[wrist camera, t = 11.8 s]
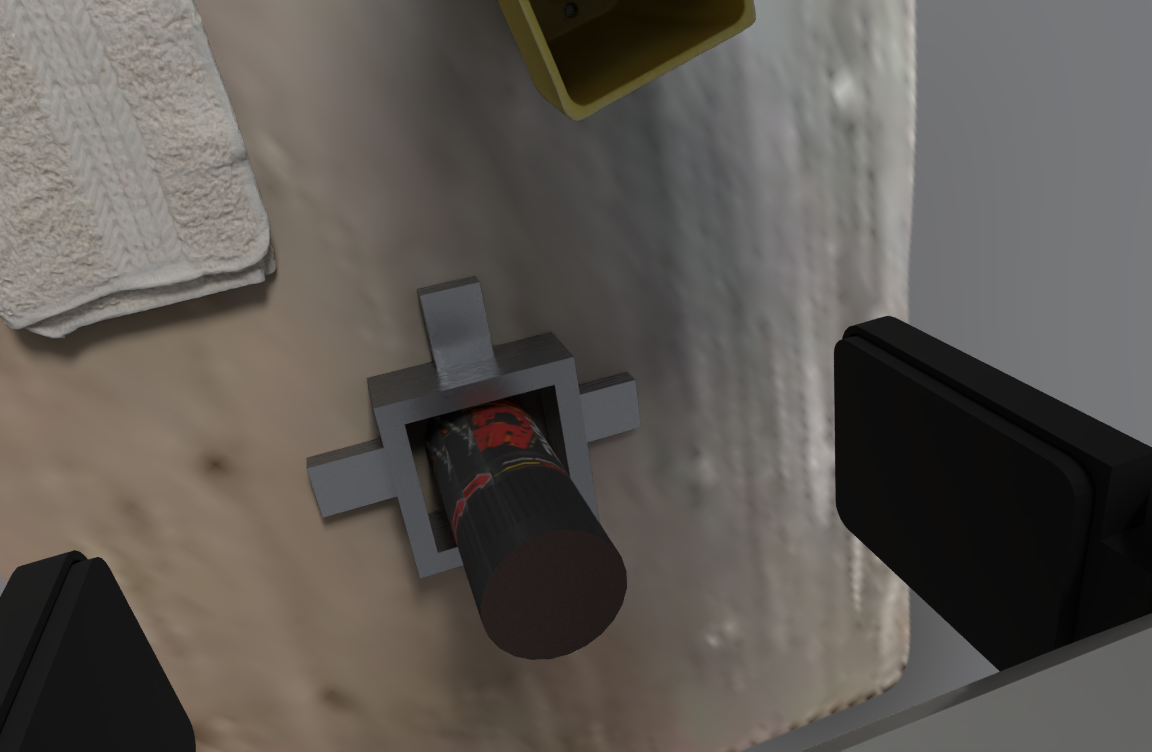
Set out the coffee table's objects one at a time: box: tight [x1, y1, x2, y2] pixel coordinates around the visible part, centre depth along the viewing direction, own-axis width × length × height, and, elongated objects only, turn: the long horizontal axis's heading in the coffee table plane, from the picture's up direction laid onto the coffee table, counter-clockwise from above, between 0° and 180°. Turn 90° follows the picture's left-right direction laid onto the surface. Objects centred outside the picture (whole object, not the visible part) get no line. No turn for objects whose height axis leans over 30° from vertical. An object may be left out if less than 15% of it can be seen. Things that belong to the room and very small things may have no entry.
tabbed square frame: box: [307, 276, 641, 579], centre depth 43 cm, size 18×18×4 cm
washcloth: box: [0, 0, 276, 338], centre depth 33 cm, size 12×18×3 cm, turn 12°
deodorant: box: [425, 395, 627, 660], centre depth 38 cm, size 6×6×15 cm
